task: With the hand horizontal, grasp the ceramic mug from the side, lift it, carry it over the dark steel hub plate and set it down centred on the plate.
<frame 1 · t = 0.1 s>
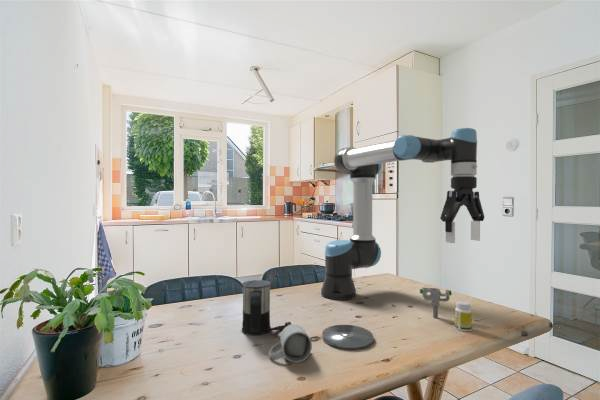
hand: (463, 241, 104), 28 cm above the table, tool pointing down, fingers open, 13 cm apart
milk frother: (268, 331, 101), on the table
ceramic mug: (289, 357, 84), on the table
supplement bottle: (463, 329, 103), on the table
hub plate: (347, 338, 95), on the table
mechanical component: (435, 318, 113), on the table
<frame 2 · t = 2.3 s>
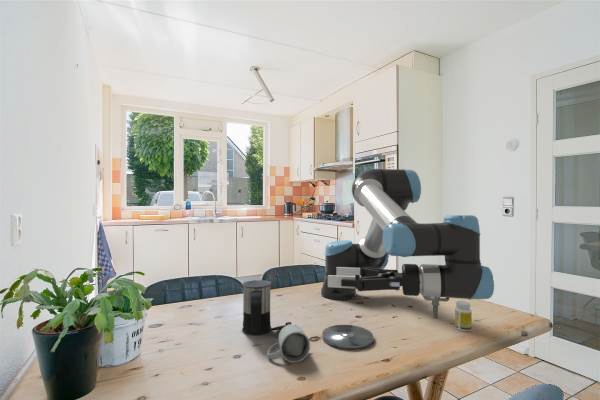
hand: (332, 276, 83), 21 cm above the table, tool horizontal, fingers open, 13 cm apart
nothing on the table moved.
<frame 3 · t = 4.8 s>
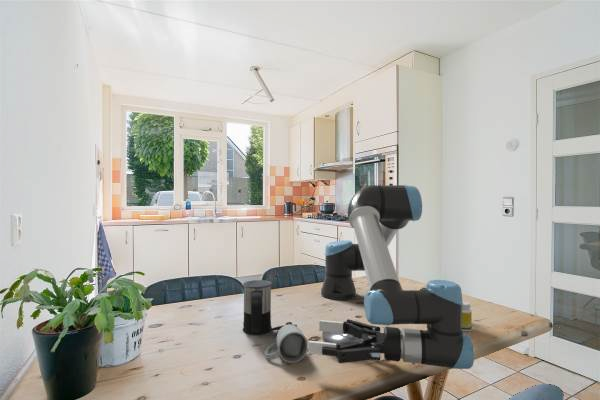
hand: (314, 335, 82), 6 cm above the table, tool horizontal, fingers open, 13 cm apart
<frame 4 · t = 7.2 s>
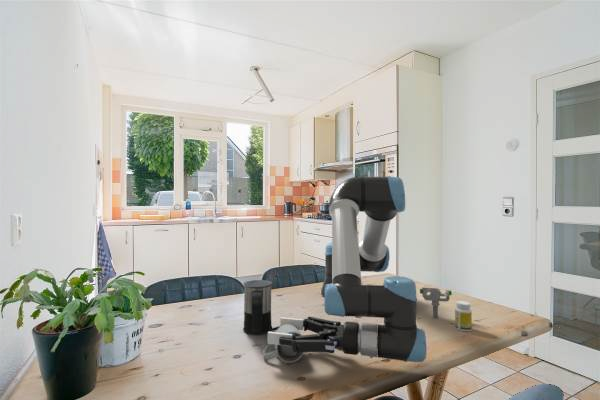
hand: (274, 329, 85), 7 cm above the table, tool horizontal, fingers closed on ceramic mug, 10 cm apart
ceramic mug: (283, 357, 84), on the table, touching gripper
everything else where it was.
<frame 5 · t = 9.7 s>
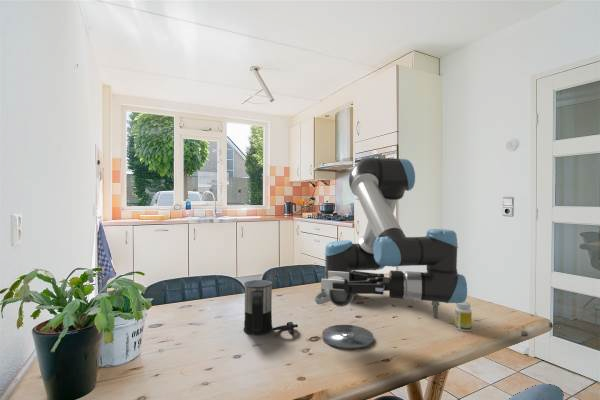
hand: (324, 279, 95), 18 cm above the table, tool horizontal, fingers closed on ceramic mug, 10 cm apart
ceramic mug: (333, 303, 93), point 11 cm above the table, touching gripper
everything else where it was.
when the fingers open (9 cm above the table, at t = 12.7 s): ceramic mug drops 1 cm, resting on hub plate.
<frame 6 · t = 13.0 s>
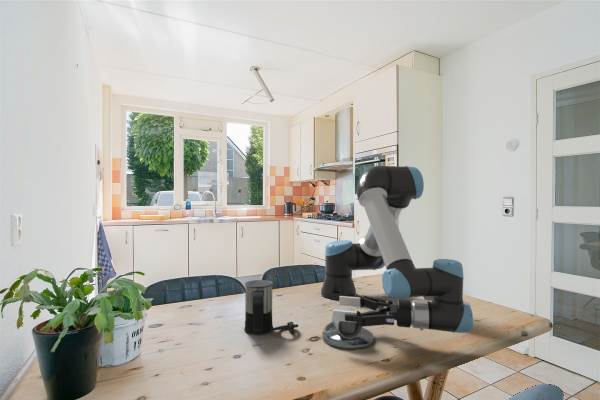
hand: (336, 307, 96), 9 cm above the table, tool horizontal, fingers open, 13 cm apart
ceramic mug: (342, 335, 95), point 1 cm above the table, touching hub plate
everything else where it was.
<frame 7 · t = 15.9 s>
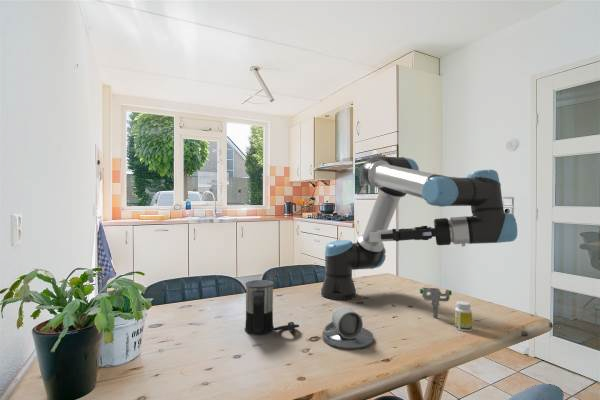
hand: (373, 235, 97), 30 cm above the table, tool horizontal, fingers open, 13 cm apart
nothing on the table moved.
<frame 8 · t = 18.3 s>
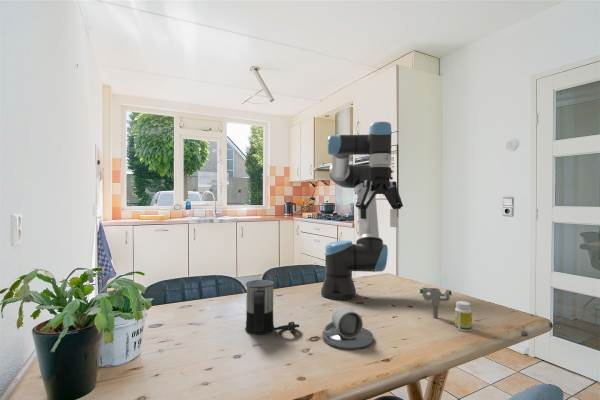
hand: (379, 227, 112), 32 cm above the table, tool pointing down, fingers open, 13 cm apart
at the end: ceramic mug 1.7 cm from the hub plate (horizontally); ceramic mug tilted 0°; the gripper is holding nothing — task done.
